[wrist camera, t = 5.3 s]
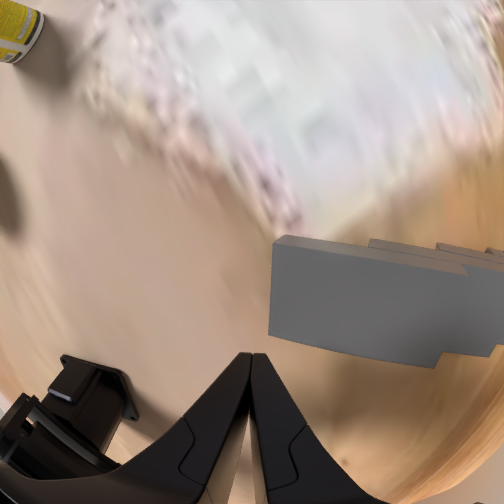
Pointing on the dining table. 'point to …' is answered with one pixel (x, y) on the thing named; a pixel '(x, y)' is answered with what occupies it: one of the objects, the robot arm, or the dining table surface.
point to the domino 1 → (364, 300)
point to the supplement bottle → (17, 30)
